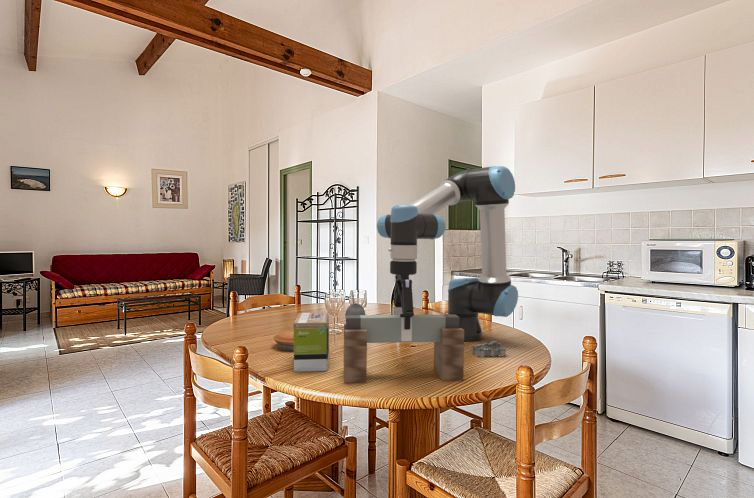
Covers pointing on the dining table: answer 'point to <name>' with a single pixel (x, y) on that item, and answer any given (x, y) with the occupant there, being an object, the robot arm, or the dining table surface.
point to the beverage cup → (355, 309)
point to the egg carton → (488, 349)
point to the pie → (285, 340)
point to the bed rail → (390, 327)
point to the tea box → (311, 342)
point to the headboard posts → (445, 355)
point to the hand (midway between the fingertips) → (402, 334)
